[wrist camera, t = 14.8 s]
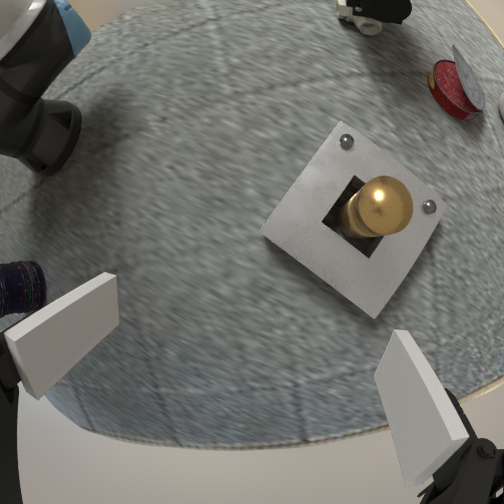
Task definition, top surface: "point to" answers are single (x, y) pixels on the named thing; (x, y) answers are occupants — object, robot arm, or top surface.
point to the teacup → (501, 105)
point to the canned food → (456, 87)
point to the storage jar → (21, 287)
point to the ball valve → (373, 13)
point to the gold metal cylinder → (376, 209)
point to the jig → (335, 247)
